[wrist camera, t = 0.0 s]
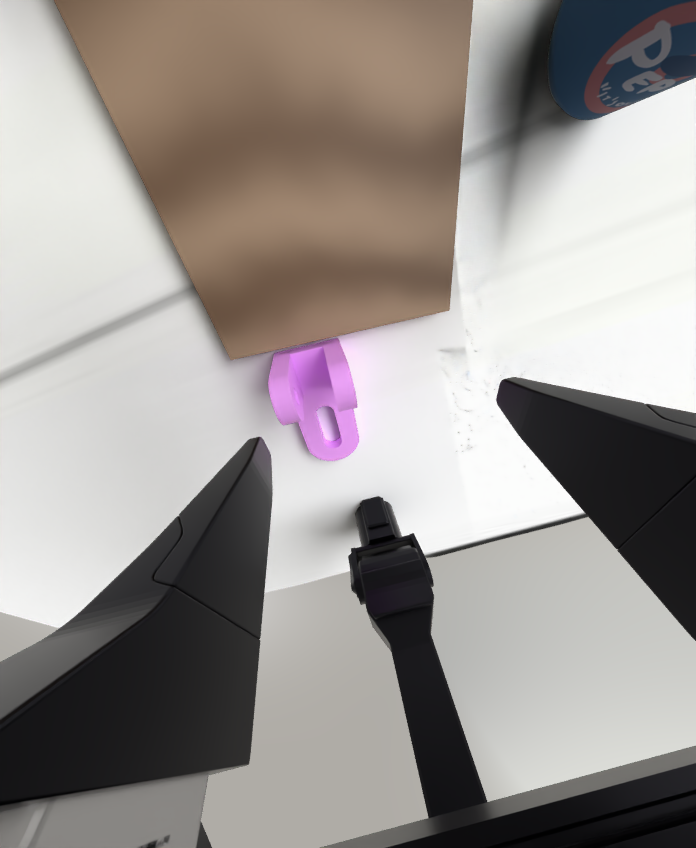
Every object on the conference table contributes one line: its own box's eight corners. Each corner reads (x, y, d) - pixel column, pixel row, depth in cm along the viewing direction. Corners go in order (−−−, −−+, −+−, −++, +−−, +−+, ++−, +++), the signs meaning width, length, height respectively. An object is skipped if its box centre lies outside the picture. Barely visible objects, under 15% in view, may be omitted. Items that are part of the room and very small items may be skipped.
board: (442, 307, 21) (468, 319, 18) (234, 354, 21) (222, 375, 17) (478, -294, 9) (581, -601, 6) (-33, -205, 8) (-236, -477, 5)
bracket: (274, 352, 21) (265, 391, 16) (337, 337, 21) (351, 371, 16) (314, 457, 29) (317, 507, 24) (359, 445, 29) (374, 493, 24)
